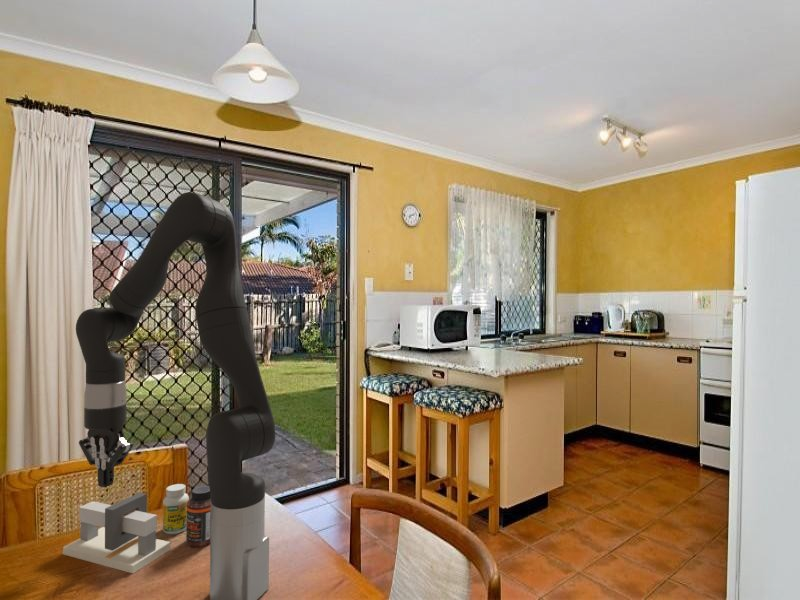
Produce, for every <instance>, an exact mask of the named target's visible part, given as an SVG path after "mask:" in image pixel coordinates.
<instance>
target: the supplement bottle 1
mask: <svg viewBox="0 0 800 600" xmlns="http://www.w3.org/2000/svg"><path fill="white" fill-rule="evenodd" d="M186 491H187V490H186V484H183V483H175V484H172V485H169V486H167V487H166V489H165V495H166V496H165V497H164V499H163V501H162V531H163V532H164V533H165V534H167V535H176V534H180V533H183V532H184V531H186V529H187V503H188V501H189V500H190V497H189V494H188V493H186Z"/></svg>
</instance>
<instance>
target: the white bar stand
mask: <svg viewBox="0 0 800 600" xmlns="http://www.w3.org/2000/svg"><path fill="white" fill-rule="evenodd" d="M112 505H113V504H108V503H104V502H98V501H93V500H92V501H90V502H88V503H86V504H83V505H81V506H79V508H78V510H79V511H78V513H79V515H78V518H79V519H78V521H79V523H80V538H78V539H76V540H75V541H72V542H70V543H68V544H67V545H64V546H63V547H62V554H63V555H64V556H68V557H72V558H75V559H79V560H82V561H85V562H90V563H93V564H97V565H100V566H105V567H107V568H112V569H116V570H120V571H123V572H127V573H130V574H135V573H136V572H138V571H139V570H141V569H143V568H144V567H146V566H147V565H148V564H150V563H152V562H153V561H155V560H156V559H158V558H160V557H161V556H162V555H164V554H166V553H167V552H168V551H170V550H171V541H167V540H164V539H158V538H157V530H158V514H155V513H154V514H153V513H150V512H147V513H145V512H141V511H136V509H134V510H132V511H130V512H128V513H126V514H124V515H122V531H121V532H126V533H131V534H135V535H138V536H137V537H135V538H134V539H132V540H130V541H128V542H127V543H125V544H123V545H121V546H120V547H118V548H116V549H114V550H108V549H105V508H107V507H110V506H112Z"/></svg>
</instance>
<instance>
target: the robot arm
mask: <svg viewBox="0 0 800 600" xmlns="http://www.w3.org/2000/svg"><path fill="white" fill-rule="evenodd" d="M236 236H237V235H236V227H235V220H234V216H233V214H232V212H231V210H230V208H228V206H226V205H225V204H223V203H222V202H220V201H218V200H215V199H213V198H210V197H208V196H205V195H203V194H200V193H197V192H193V191H187V192H184V193H182V194H180V195H178V196H177V197H176V198H175V199H174V200H173V201H172V203H171V204H170V205H169V207H168V208H167V210H166V211H165V212H164V213H163V216H162V217H161V219H160V221H159V222H158V225H157V226H156V228H155V230H154V232H153V233H152V234H151V236H150V238H149V240H148V242H147V243H146V245H145V247H144V249H143V250H142V252H141V253H140V255H139V257H138V259H137V260H136V261H135V263H134V264H133V265H132V266H131V268H130V269H129V270H128V271H127V272H126V273H125V275H124V276H123V277H122V278H121V279H120V280H119V282H118V283H117V284H116V285H115V286H114V287H113V289H112V290H111V292H110V293H109V295H108V296H109V298H108V299H109V303H110V304H111V306H112V307H111V308H108V307H107V308H105V307H104V308H89V309H86V310H84V311H82V313H80V314H79V316H78V318H77V320H76V324H75V333H76V338H77V340H78V344H79V347H80V350H81V353H82V356H83V359H84V363H85V387H84V388H85V389H84V395H83V404H84V405H83V410H84V411H83V427H84V428H85V429H86V430H88V431H87V436H86V437H85V438H83V439H79V441H78V445H79V446H80V448H81V450H82V452H83V454H84V456H85V458H86V459H87V462H88V463H89V465H90V466H95V467H94V468H95V469H97V483H98V486H97V487H101V488H107V487H110V486H112V485H113V483H114V481H115V478H114V477H115V471H114V470H115V467H117V466H120V465H122V463H124V461H125V459H126V458H127V456H128V455H129V453H130V452H131V450H132V449H133V447H134V443H133V441H129V442H127V440H126V439H125V432H124V430H123V429H124V425H125V424H126V423H127V415H128V414H127V411H128V410H127V408H128V406H127V404H128V403H127V395H128V394H127V393H128V392H127V386H126V385H127V384H126V359H125V358H126V357H125V356H124V355H123V354H122V353H119V352H114V351H113V352H111V350H110V347H109V345H108V342H118V341H122V340H125V339H126V338H128V337H129V336H131V335H132V334H133V333H134V332H135V330H136V328H137V326H138V324H139V322H140V320H141V318H142V317H143V313H144V311H145V309H146V308H147V307H148V306H149V305H150V304H151V303H152V302H153V300H154V299H156V297H157V296H158V295H159V294H160V293H161V291H162V290H163V288H164V286H165V285H166V281H167V277H168V272H169V270H168V269H169V265H170V261H171V258H172V256H173V254H174V253H175V252H176V251H177V250H178V248H180V247H181V246H182V245H183V244H184V243H185V242H186V241H188V242H192V243H195V244H200V245H201V248H202V251H203V254H204V261H205V266H206V271H205V272H206V273H205V278H204V281H203V283H202V286H201V288H200V291H199V293H198V296H197V300H196V302H195V320H196V324H197V330H198V336H199V340H200V344H201V346H202V348H203V349H204V350H205V352H206V353H207V354H208V355H209V357H210V358H211V360H212V361H213V362H214V363H215V364H216V365H217V366H218V367H219V368H220V370H221V371H222V372H223V373H224V374H225V375H226V377H227V378H228V379H229V381H230V382H231V384H232V386H233V388H234V389H233V390H234V392H235V394H236V398H237V402H238V405H239V407H237V408H233V409H228V410H224V411H220V412H219V411H218V412H217V413H215V414H213V415H212V416H211V418H210V419H209V421H208V424H207V427H206V435H205V441H206V442H205V443H206V444H205V445H206V461H207V462H206V464H207V465H206V466H207V483H208V486H209V488H210V493H211V519H210V543H209V544H210V545H209V549H210V550H209V600H258V599H259V598H260V597H261V596H263V594H265V593H266V592H267V590H268V589H270V588H269V587H270V537H269V536H267V535H265V532H266V531H265V528H266V527H265V525H266V524H265V523H266V522H265V516H266V515H265V513H266V511H265V509H266V508H265V507H266V505H265V504H266V496H265V495H266V482H265V480H264V479H263V477H262V476H260V475H258V474H254V473H250V472H242V466H241V464H242V463H241V462H243V461H246V460H250V459H252V458H257V457H260V456H262V455H265V454H268V453H269V452H270V451H271V450H272V449H273V447H274V445H275V440H276V426H275V420H274V415H273V413H272V409H271V405H270V404H271V403H270V401H269V399H268V395H267V392H266V389H265V385H264V382H263V379H262V376H261V375H262V374H261V372H260V367H259V363H258V360H257V359H258V358H257V355H256V349H255V344H254V339H253V333H252V327H251V323H250V322H251V321H250V317H249V312H248V307H247V304H246V300H245V295H244V294H245V293H244V289H243V283H242V279H241V272H240V268H239V259H238V249H237V237H236Z"/></svg>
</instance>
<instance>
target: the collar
mask: <svg viewBox="0 0 800 600" xmlns="http://www.w3.org/2000/svg"><path fill="white" fill-rule="evenodd" d="M147 495H148V494H147V493H144V492H138V493H136V494H132V495H131V496H128V497H127V498H125V499H123V500H120V501H118V502H116V503H114V504H111V505H112V506H110V507H107V508H105V549H108V550H114V549H116V548H118V547H120V546H121V545H123V544H125V543H127V542H128V541H130V540H132V539H134V538H135V537H137V536H138V535H135V534H131V533H126V532H121V531H122V515H124V514H126V513H128V512H130V511H132V510H134V509H136V511H141V512H145V513H148V512H147V511H148V510H147V509H148V506H147V505H148V503H147V501H148V496H147Z"/></svg>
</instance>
